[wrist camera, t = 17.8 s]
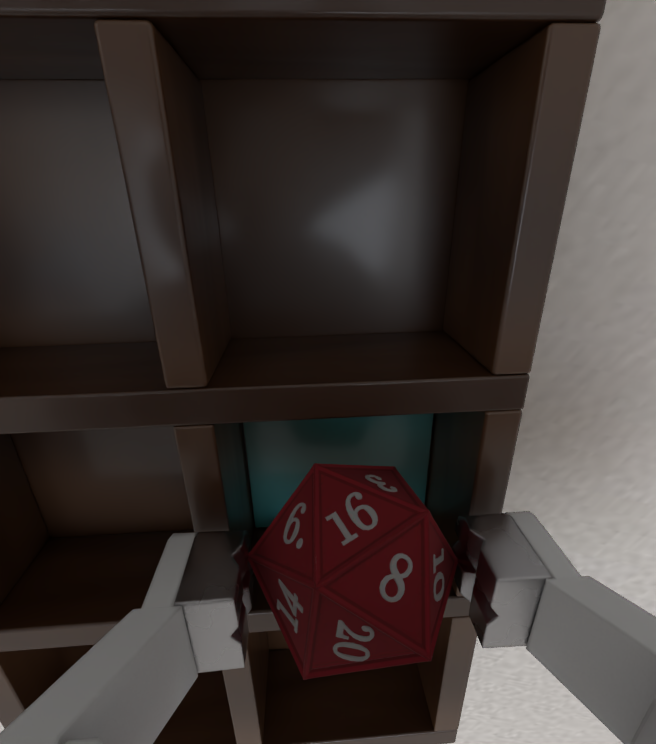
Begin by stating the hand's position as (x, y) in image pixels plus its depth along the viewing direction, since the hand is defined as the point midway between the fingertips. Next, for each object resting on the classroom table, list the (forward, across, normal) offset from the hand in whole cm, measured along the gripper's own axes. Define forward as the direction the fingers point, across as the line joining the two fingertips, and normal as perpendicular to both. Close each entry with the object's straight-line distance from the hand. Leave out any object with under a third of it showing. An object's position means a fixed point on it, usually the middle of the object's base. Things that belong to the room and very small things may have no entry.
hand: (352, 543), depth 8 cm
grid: (+4, +3, 0) cm, 5 cm away
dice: (+2, 0, 0) cm, 2 cm away
